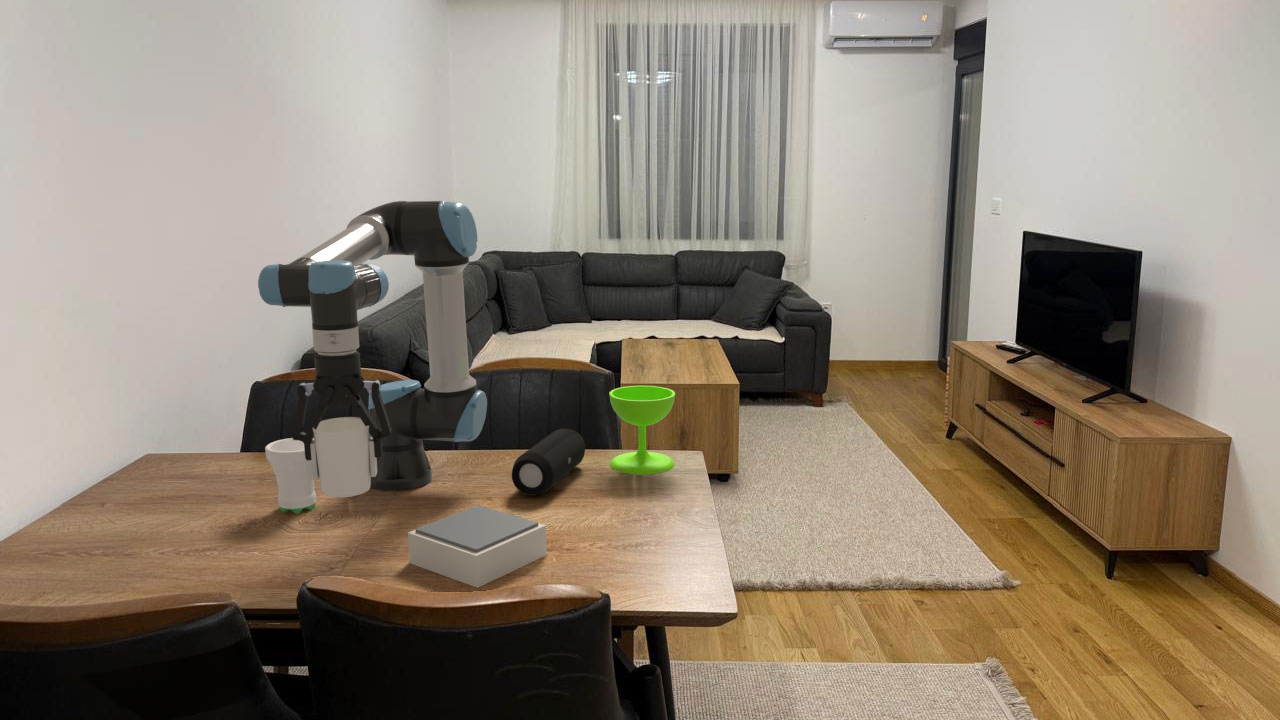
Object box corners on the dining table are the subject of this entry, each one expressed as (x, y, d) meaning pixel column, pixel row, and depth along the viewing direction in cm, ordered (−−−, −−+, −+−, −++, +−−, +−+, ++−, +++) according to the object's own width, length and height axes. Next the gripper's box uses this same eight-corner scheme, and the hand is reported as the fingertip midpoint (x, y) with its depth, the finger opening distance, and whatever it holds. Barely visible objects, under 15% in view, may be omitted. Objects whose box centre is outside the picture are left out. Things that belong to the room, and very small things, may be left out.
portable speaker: (549, 501, 215) (548, 457, 213) (508, 497, 218) (507, 453, 216) (588, 467, 239) (588, 427, 237) (550, 463, 242) (549, 424, 240)
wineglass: (599, 470, 237) (598, 397, 233) (624, 452, 251) (623, 383, 248) (661, 477, 231) (662, 403, 227) (683, 458, 246) (684, 388, 242)
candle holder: (324, 481, 178) (319, 417, 176) (379, 479, 179) (375, 416, 176) (311, 500, 169) (306, 433, 166) (369, 498, 170) (365, 431, 167)
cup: (335, 507, 211) (330, 444, 208) (286, 521, 203) (281, 455, 200) (308, 495, 219) (304, 434, 216) (260, 508, 211) (255, 444, 208)
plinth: (409, 563, 182) (407, 529, 181) (479, 533, 197) (478, 502, 195) (477, 587, 172) (476, 552, 171) (546, 555, 186) (545, 522, 185)
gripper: (265, 357, 163) (276, 486, 168) (400, 353, 166) (407, 479, 171) (275, 348, 171) (285, 471, 175) (404, 345, 174) (410, 466, 178)
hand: (345, 475), depth 173 cm, fingers closed on candle holder, 9 cm apart
